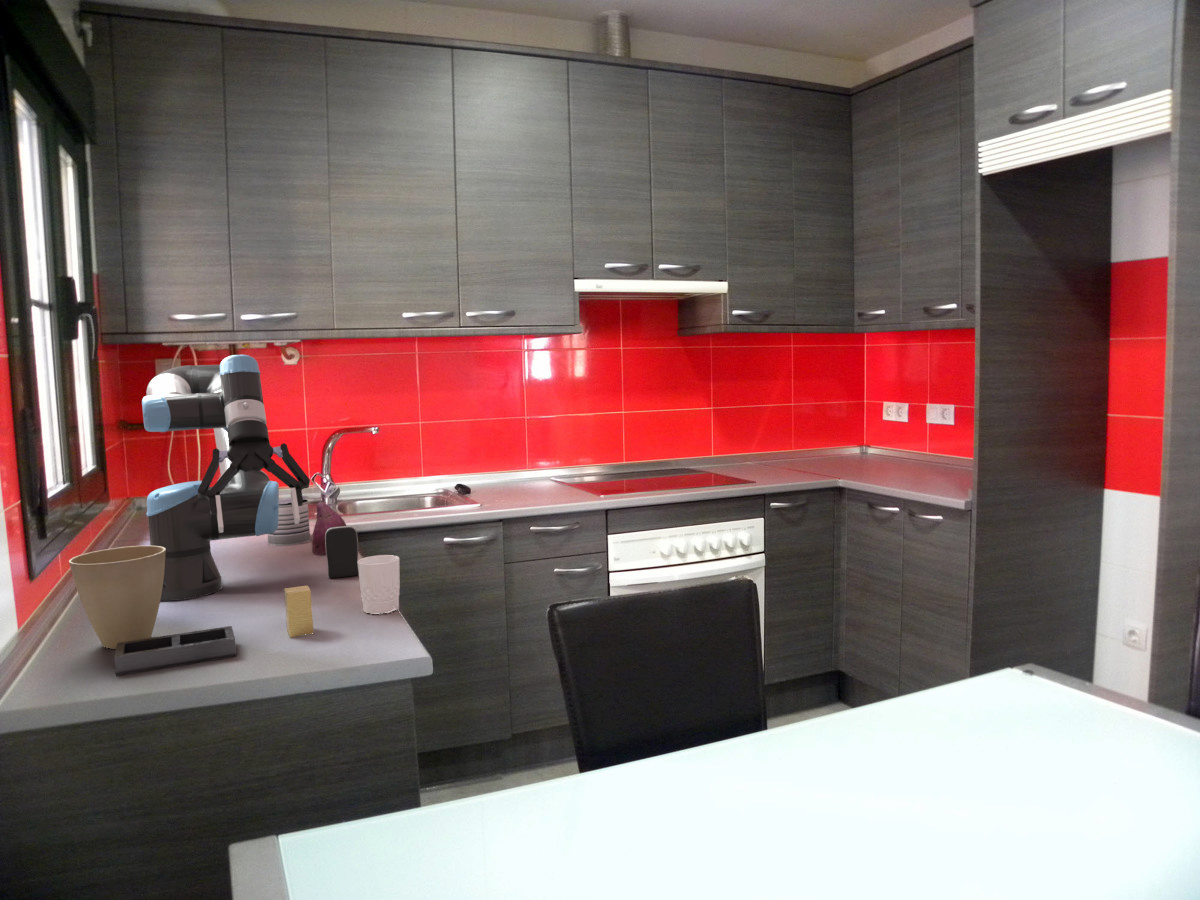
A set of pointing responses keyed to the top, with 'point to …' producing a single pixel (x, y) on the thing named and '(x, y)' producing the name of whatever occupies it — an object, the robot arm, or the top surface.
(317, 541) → the vegetable
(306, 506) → the can
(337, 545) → the battery charger
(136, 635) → the plant pot
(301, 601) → the brass block
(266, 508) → the robot arm
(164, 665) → the divided tray
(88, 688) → the top surface
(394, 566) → the white cup
